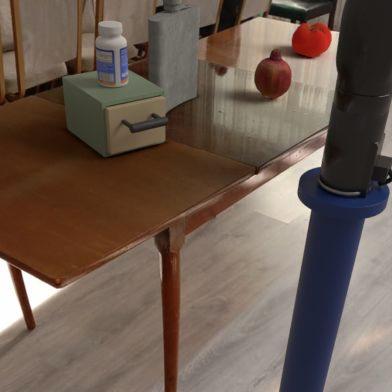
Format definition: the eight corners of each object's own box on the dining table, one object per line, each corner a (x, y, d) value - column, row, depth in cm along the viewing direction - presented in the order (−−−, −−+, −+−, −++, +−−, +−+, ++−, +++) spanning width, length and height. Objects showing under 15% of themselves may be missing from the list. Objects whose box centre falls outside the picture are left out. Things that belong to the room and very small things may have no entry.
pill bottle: (121, 76, 114) (118, 17, 108) (133, 86, 111) (131, 26, 104) (93, 80, 112) (89, 20, 106) (104, 90, 109) (101, 29, 102)
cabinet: (164, 142, 116) (164, 89, 110) (104, 157, 110) (101, 102, 104) (124, 116, 125) (122, 66, 119) (67, 129, 119) (61, 76, 113)
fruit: (272, 89, 140) (278, 41, 133) (296, 100, 135) (303, 51, 129) (244, 95, 136) (248, 46, 130) (268, 107, 132) (273, 57, 125)
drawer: (178, 149, 112) (179, 105, 107) (123, 163, 107) (121, 118, 102) (127, 116, 123) (126, 75, 118) (75, 127, 117) (71, 85, 112)
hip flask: (159, 118, 125) (159, 6, 112) (142, 113, 126) (140, 3, 113) (199, 95, 136) (203, -9, 122) (183, 91, 137) (185, -13, 124)
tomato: (287, 56, 158) (290, 28, 154) (294, 45, 166) (298, 18, 162) (325, 61, 156) (330, 33, 152) (331, 49, 164) (336, 22, 160)
